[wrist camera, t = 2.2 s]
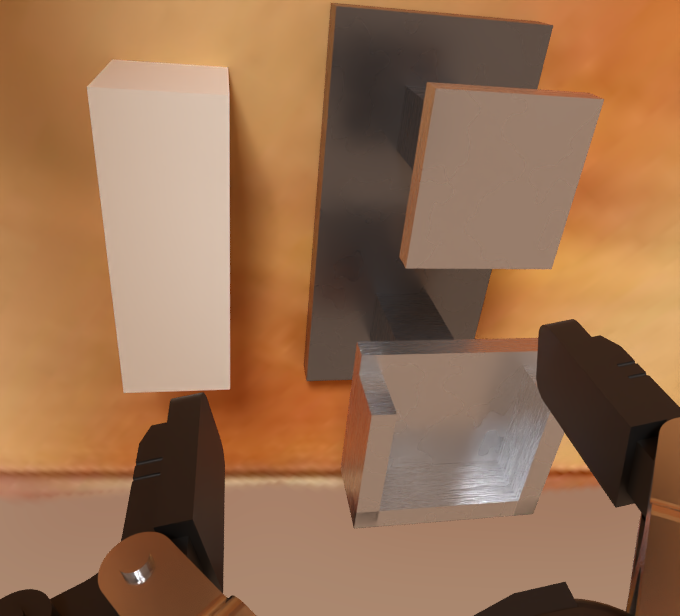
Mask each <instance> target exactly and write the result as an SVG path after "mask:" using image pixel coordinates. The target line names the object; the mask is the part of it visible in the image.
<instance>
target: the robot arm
mask: <svg viewBox="0 0 680 616" xmlns="http://www.w3.org/2000/svg"><path fill="white" fill-rule="evenodd" d="M536 381H537V387H538V390H539V393H540V396H541V398H542V400H543V401H544V403H545V404H546V406H547V407H548V409H549V410H550V412H551V413H552V415H553V416H554V418H555V419H556V421H557V422H558V424H559V425H560V426H561V428H562V429H563V431H564V432H565V434H566V435H567V437H568V438H569V440H570V441H571V443H572V444H573V446H574V447H575V449H576V450H577V451H578V453H579V454H580V456H581V457H582V459H583V460H584V462H585V463H586V465H587V466H588V468H589V469H590V471H591V472H592V473H593V475H594V476H595V478H596V479H597V481H598V482H599V484H600V485H601V487H602V488H603V490H604V491H605V493H606V494H607V496H608V497H609V498H610V500H611V501H612V503H613V504H614V506H615V507H620V506H625V505H629V504H633V503H635V504H636V505H637V507H638V508H639V510H640V511H641V516H640V520H639V527H638V534H637V541H636V547H635V555H634V561H633V569H632V576H631V583H630V589H629V596H628V601H627V607H626V612H625V611H623V610H621V609H618V608H616V607H613V606H610V605H607V604H604V603H600V602H596V601H590V600H584V599H574V598H573V596H572V594H571V592H570V590H569V588H568V586H567V584H566V582H562V583H558V584H553V585H549V586H545V587H540V588H536V589H531V590H527V591H523V592H518V593H514V594H512V595H510V596H509V597H507V598H505V599H503V600H501V601H499V602H498V603H496V604H494V605H492V606H490V607H488V608H487V609H485V610H483V611H481V612H479V613H478V614H476V615H474V616H680V407H679V406H678V405H677V404H676V403H675V402H674V401H673V400H672V399H671V398H670V397H669V396H668V395H667V394H666V393H665V392H664V391H663V390H662V389H661V387H660V386H659V385H658V384H657V383H656V382H655V381H654V380H653V379H652V378H651V377H650V376H649V375H648V376H647V375H646V372H645V371H644V370H643V369H642V368H641V367H640V366H639V365H638V364H635V361H634V360H633V358H632V357H631V356H630V355H629V354H628V353H627V352H626V351H625V350H624V349H623V348H622V347H621V346H619V345H617V344H615V343H614V342H612V341H610V340H608V339H606V338H604V337H602V336H595V337H591V336H590V335H589V334H588V333H587V332H586V330H585V329H584V328H583V327H582V326H581V325H580V324H579V323H578V322H577V321H576V320H574V319H571V320H566V321H561V322H556V323H551V324H546V325H542V326H541V327H540V330H539V337H538V352H537V368H536ZM224 489H225V461H224V453H223V447H222V443H221V439H220V436H219V433H218V430H217V427H216V424H215V421H214V418H213V415H212V412H211V409H210V406H209V403H208V400H207V397H206V395H205V394H204V393H198V394H193V395H188V396H183V397H178V398H173V399H171V401H170V405H169V413H168V420H167V423H162V424H157V425H152V426H151V427H150V429H149V430H148V432H147V433H146V435H145V436H144V437H143V439H142V440H141V442H140V443H139V448H138V453H137V459H136V466H135V469H134V475H133V482H132V486H131V491H130V496H129V502H128V507H127V513H126V518H125V524H124V529H123V534H122V539H121V542H120V543H118V544H117V545H116V546H115V547H114V548H113V549H112V550H111V551H110V552H109V553H108V554H107V556H106V557H105V558H104V560H103V562H102V564H101V566H100V569H99V572H98V573H97V574H96V575H94V576H93V577H91V578H90V579H88V580H86V581H85V582H83V583H81V584H79V585H77V586H75V587H73V588H71V589H69V590H67V591H65V592H63V593H62V594H59V595H57V596H55V597H54V598H51V599H49V598H48V597H47V595H46V594H44V593H43V592H41V591H38V590H33V589H29V590H28V589H27V590H21V591H17V592H14V593H12V594H9V595H8V596H5V597H4V598H2V599H0V616H256V615H255V614H254V613H253V612H252V611H251V610H250V609H249V608H248V607H247V606H246V605H245V604H244V603H243V602H242V601H241V600H240V599H238V598H237V597H235V596H231V597H230V598H227V597H226V596H224V594H223V558H224Z"/></svg>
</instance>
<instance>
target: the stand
mask: <svg viewBox="0 0 680 616" xmlns="http://www.w3.org/2000/svg"><path fill="white" fill-rule="evenodd" d="M552 28H553V25H549V24H545V23H541V22H536V21H525V20H514V19H503V18H492V17H481V16H470V15H459V14H448V13H437V12H426V11H415V10H404V9H393V8H382V7H371V6H360V5H349V4H338V3H331V9H330V22H329V35H328V49H327V62H326V76H325V89H324V102H323V116H322V129H321V142H320V156H319V169H318V182H317V196H316V209H315V223H314V236H313V249H312V263H311V276H310V289H309V303H308V316H307V329H306V343H305V356H304V370H305V375H306V380H307V381H323V380H352V385H351V393H350V401H349V408H348V416H347V424H346V432H345V439H344V447H343V455H342V463H341V472H342V477H343V481H344V486H345V490H346V494H347V499H348V504H349V508H350V512H351V517H352V521H353V526H354V528H366V527H378V526H391V525H403V524H416V523H429V522H441V521H453V520H466V519H479V518H491V517H503V516H516V515H528V514H533V513H534V510H535V508H536V505H537V502H538V500H539V497H540V495H541V492H542V489H543V487H544V484H545V482H546V479H547V476H548V474H549V471H550V468H551V466H552V463H553V461H554V458H555V455H556V453H557V450H558V448H559V445H560V442H561V440H562V437H563V435H564V431H563V429H562V428H561V426H560V425H559V424H558V422H557V421H556V419H555V418H554V416H553V415H552V413H551V412H550V410H549V409H548V407H547V406H546V404H545V403H544V401H543V400H542V398H541V396H540V393H539V390H538V387H537V381H536V368H537V352H538V338H515V339H474V338H475V334H476V330H477V326H478V322H479V318H480V314H481V310H482V306H483V302H484V298H485V294H486V290H487V286H488V283H489V279H490V275H491V271H492V269H552V266H553V262H554V259H555V256H556V253H557V250H558V246H559V243H560V240H561V237H562V233H563V230H564V227H565V224H566V221H567V217H568V214H569V211H570V208H571V204H572V201H573V198H574V195H575V191H576V188H577V185H578V182H579V179H580V175H581V172H582V169H583V166H584V162H585V159H586V156H587V153H588V150H589V146H590V143H591V140H592V137H593V133H594V130H595V127H596V124H597V120H598V117H599V114H600V111H601V108H602V104H603V101H604V99H602V98H600V97H597V96H595V95H593V94H590V93H582V92H567V91H553V90H538V89H537V88H538V84H539V80H540V76H541V72H542V68H543V64H544V60H545V56H546V52H547V48H548V44H549V40H550V36H551V32H552Z"/></svg>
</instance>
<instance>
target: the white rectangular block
mask: <svg viewBox="0 0 680 616" xmlns="http://www.w3.org/2000/svg"><path fill="white" fill-rule="evenodd" d="M87 93H88V101H89V109H90V118H91V126H92V134H93V142H94V151H95V159H96V167H97V176H98V184H99V192H100V200H101V209H102V217H103V225H104V234H105V242H106V250H107V258H108V267H109V275H110V283H111V292H112V300H113V308H114V316H115V325H116V333H117V341H118V349H119V358H120V366H121V374H122V383H123V391H124V393H139V392H169V391H200V390H230V122H229V75H228V67H215V66H201V65H187V64H172V63H158V62H144V61H129V60H115V59H112V60H111V61H110V62H109V63H108V64H107V66H106V67H105V68H104V69H103V70H102V71H101V72H100V73H99V74H98V75H97V76H96V77H95V79H94V80H93V81H92V82H91V83H90V84H89V85H88V86H87Z"/></svg>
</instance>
